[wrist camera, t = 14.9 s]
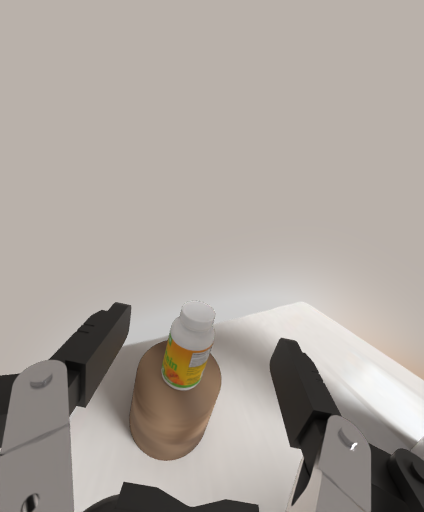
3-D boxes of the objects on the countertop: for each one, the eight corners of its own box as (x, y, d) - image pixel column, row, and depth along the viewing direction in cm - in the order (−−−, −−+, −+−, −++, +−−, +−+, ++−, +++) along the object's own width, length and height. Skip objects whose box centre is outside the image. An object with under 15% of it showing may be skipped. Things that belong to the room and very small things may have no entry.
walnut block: (190, 369, 36) (200, 334, 33) (220, 437, 27) (237, 397, 25) (124, 387, 30) (130, 347, 28) (136, 480, 22) (146, 435, 19)
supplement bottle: (154, 361, 26) (168, 299, 23) (190, 350, 30) (205, 294, 27) (170, 399, 22) (189, 330, 19) (209, 382, 26) (230, 320, 23)
